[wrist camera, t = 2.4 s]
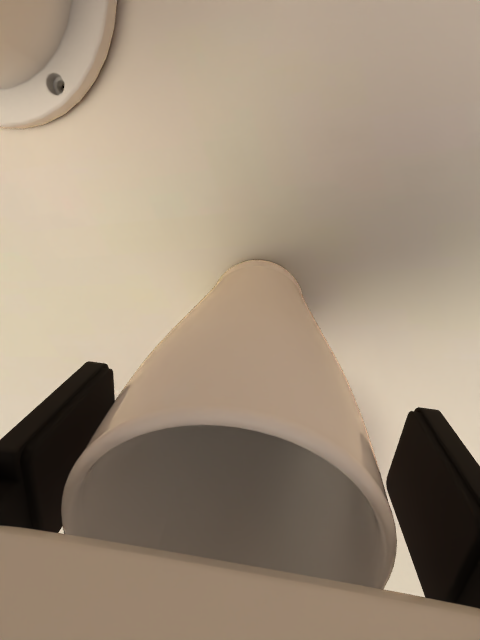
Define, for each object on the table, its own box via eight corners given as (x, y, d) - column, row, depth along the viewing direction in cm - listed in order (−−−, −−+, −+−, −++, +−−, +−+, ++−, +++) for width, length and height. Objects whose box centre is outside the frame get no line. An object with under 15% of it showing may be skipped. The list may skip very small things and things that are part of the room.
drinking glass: (209, 353, 22) (98, 641, 8) (195, 248, 20) (3, 411, 6) (315, 349, 21) (390, 663, 7) (314, 240, 19) (425, 405, 5)
